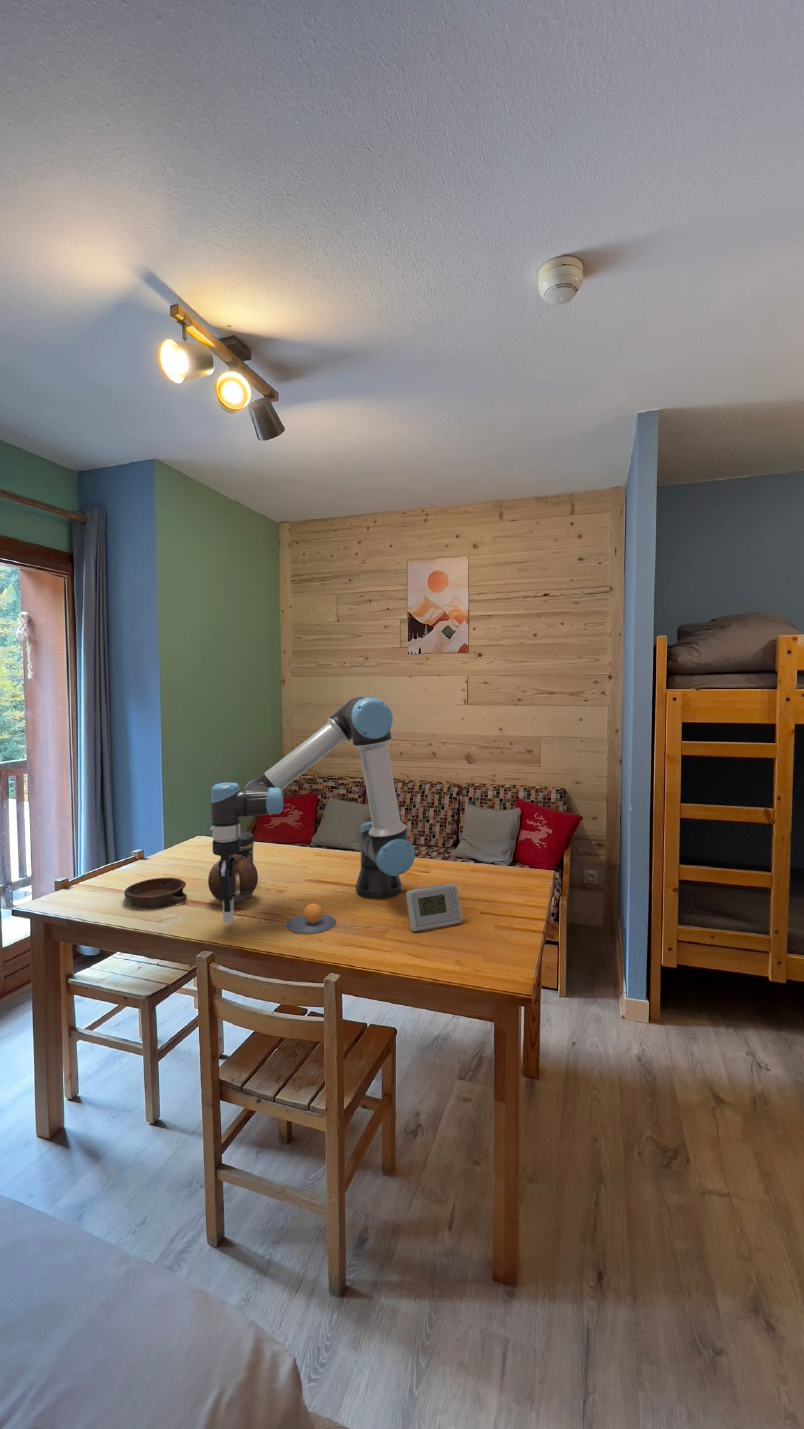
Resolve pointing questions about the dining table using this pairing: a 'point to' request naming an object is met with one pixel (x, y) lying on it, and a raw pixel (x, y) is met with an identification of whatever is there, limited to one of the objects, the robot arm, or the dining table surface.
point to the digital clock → (433, 907)
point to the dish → (156, 892)
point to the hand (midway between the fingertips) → (228, 921)
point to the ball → (313, 913)
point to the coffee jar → (246, 845)
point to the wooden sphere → (236, 879)
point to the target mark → (310, 925)
